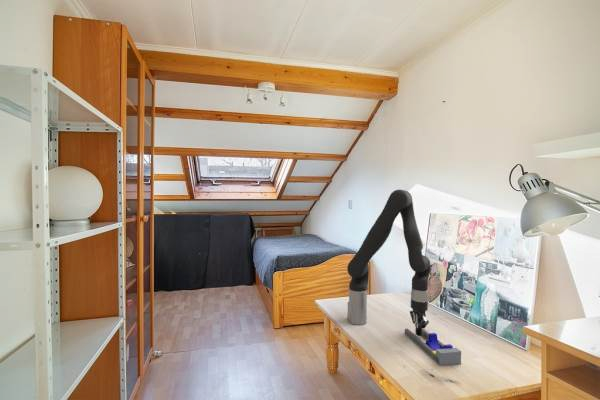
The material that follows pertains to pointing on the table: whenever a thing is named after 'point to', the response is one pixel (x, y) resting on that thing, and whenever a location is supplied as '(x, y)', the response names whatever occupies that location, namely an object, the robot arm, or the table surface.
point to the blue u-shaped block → (435, 342)
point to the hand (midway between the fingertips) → (418, 335)
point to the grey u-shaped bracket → (440, 355)
